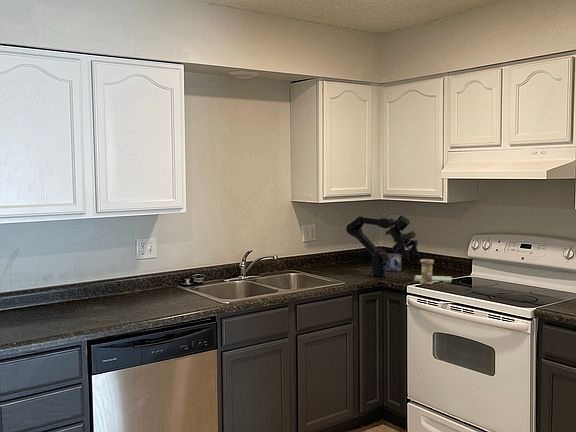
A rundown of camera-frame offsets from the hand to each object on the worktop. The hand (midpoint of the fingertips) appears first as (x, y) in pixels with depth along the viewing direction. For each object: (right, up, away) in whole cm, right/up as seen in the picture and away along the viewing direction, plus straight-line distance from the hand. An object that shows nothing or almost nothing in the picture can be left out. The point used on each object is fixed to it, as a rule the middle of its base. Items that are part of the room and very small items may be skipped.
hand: (414, 257), depth 332 cm
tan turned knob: (+6, -14, -5) cm, 16 cm away
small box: (-6, -11, +37) cm, 39 cm away
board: (+12, -13, +6) cm, 19 cm away
